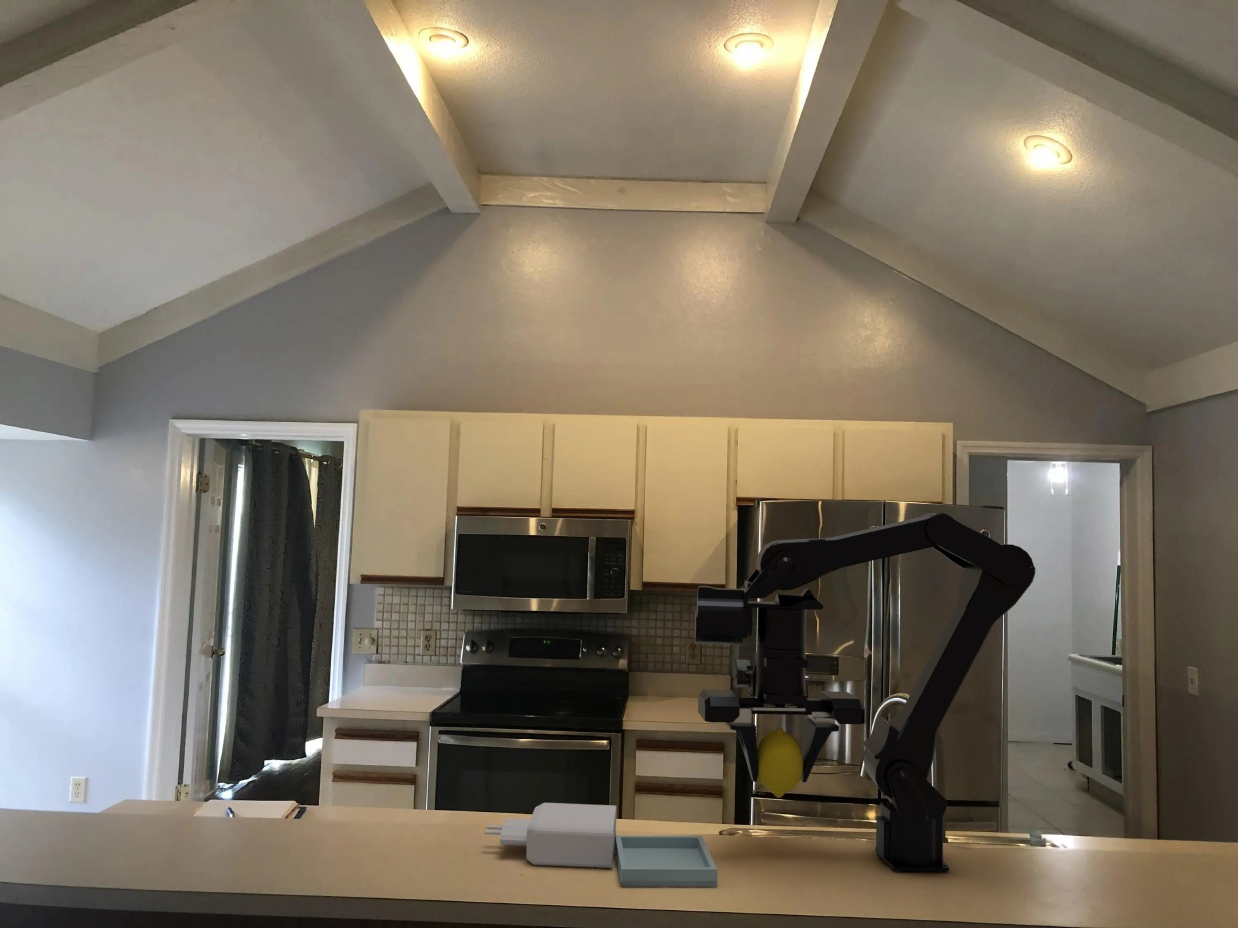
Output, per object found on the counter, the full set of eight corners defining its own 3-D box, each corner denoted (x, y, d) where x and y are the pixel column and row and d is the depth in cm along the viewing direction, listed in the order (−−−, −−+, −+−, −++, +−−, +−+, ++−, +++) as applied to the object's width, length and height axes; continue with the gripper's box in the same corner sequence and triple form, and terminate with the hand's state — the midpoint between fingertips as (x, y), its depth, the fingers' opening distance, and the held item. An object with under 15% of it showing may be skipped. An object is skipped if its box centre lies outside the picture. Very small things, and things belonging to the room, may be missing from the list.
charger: (492, 837, 108) (616, 842, 108) (477, 866, 99) (612, 872, 98) (493, 797, 109) (617, 802, 108) (478, 822, 99) (613, 828, 99)
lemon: (799, 791, 107) (800, 723, 108) (804, 806, 102) (805, 734, 102) (753, 789, 108) (754, 721, 108) (755, 803, 102) (756, 732, 103)
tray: (701, 851, 105) (702, 835, 105) (717, 886, 95) (717, 869, 95) (614, 851, 104) (615, 835, 104) (620, 886, 94) (621, 869, 94)
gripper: (837, 639, 114) (835, 763, 113) (692, 636, 113) (689, 761, 112) (867, 651, 103) (865, 789, 102) (707, 648, 102) (704, 788, 101)
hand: (778, 781), depth 105 cm, fingers closed on lemon, 5 cm apart
